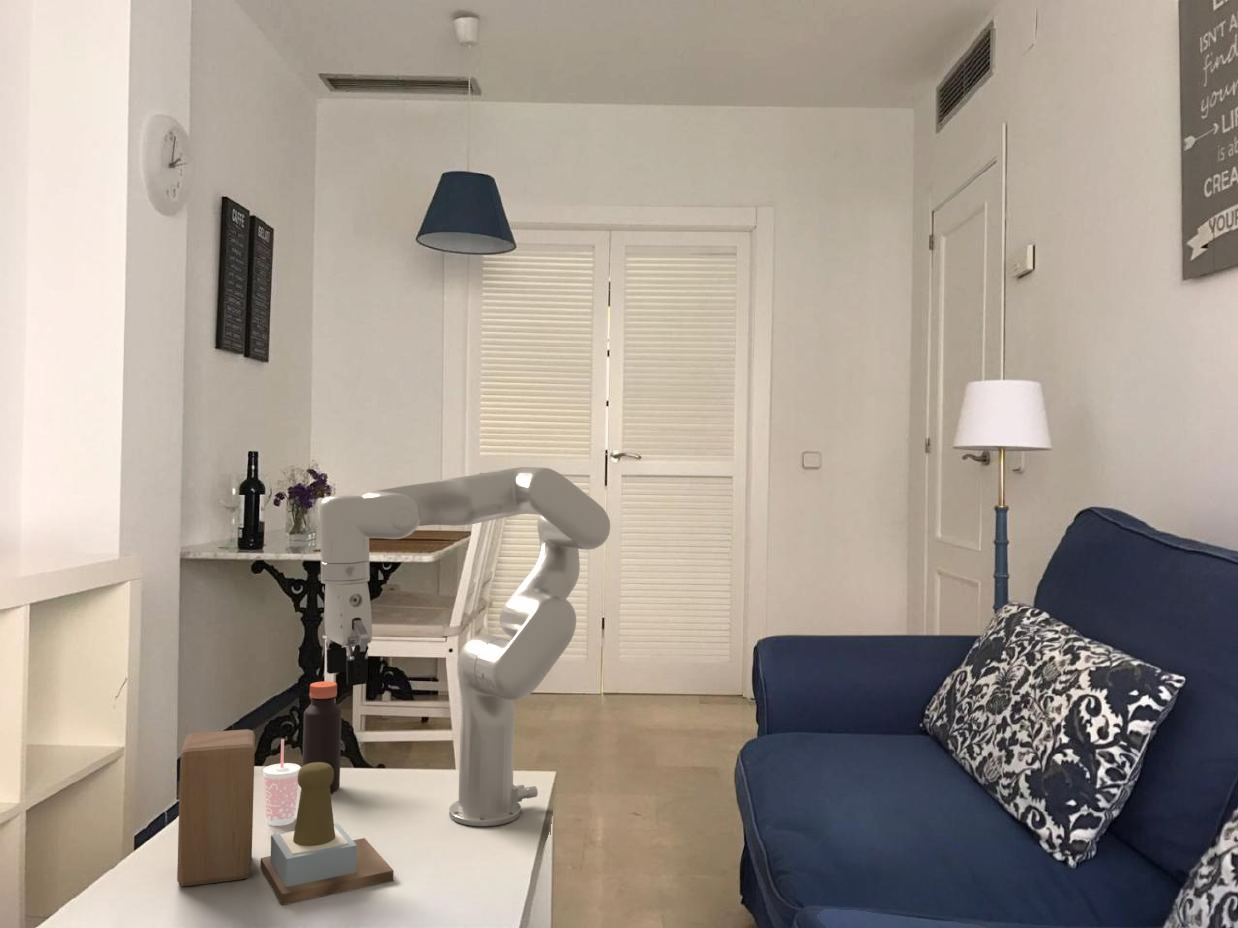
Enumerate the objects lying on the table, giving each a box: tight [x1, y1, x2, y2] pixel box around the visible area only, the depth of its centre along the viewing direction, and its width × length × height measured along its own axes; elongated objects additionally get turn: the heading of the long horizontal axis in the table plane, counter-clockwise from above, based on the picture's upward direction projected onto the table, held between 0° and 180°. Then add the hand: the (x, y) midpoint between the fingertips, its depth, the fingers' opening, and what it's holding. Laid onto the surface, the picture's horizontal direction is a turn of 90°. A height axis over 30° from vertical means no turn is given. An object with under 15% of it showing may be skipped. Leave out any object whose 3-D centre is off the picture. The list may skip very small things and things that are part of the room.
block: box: [176, 728, 256, 887], centre depth 142 cm, size 10×10×20 cm
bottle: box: [302, 680, 343, 794], centre depth 178 cm, size 7×7×20 cm
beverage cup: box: [262, 738, 302, 827], centre depth 162 cm, size 6×6×14 cm
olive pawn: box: [293, 762, 335, 846], centre depth 141 cm, size 6×6×11 cm
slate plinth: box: [270, 822, 357, 887], centre depth 141 cm, size 10×10×4 cm
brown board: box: [259, 837, 394, 906], centre depth 142 cm, size 16×14×2 cm
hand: (346, 678), depth 152 cm, fingers open, 9 cm apart
